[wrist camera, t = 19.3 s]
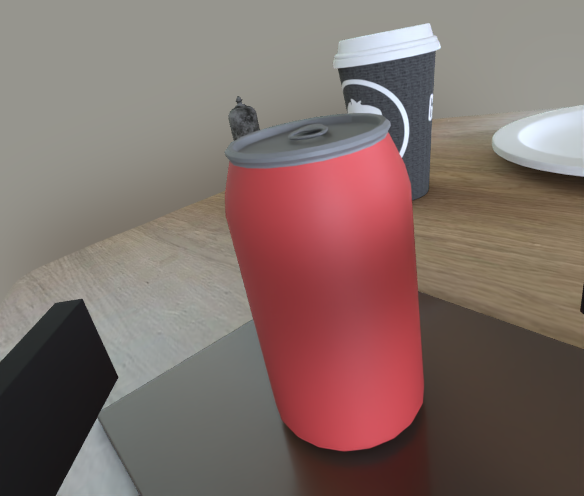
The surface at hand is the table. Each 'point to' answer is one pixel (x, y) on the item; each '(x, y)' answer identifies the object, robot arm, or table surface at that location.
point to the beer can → (330, 275)
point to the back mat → (382, 458)
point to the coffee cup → (395, 90)
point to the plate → (545, 141)
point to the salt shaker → (242, 120)
